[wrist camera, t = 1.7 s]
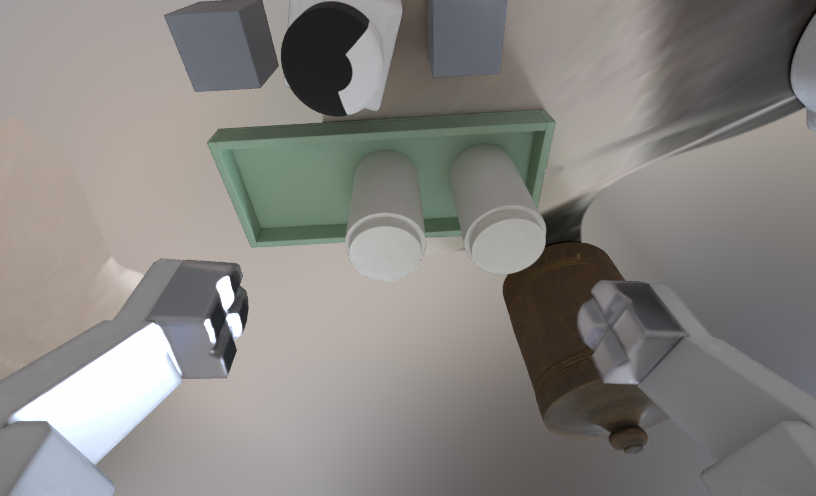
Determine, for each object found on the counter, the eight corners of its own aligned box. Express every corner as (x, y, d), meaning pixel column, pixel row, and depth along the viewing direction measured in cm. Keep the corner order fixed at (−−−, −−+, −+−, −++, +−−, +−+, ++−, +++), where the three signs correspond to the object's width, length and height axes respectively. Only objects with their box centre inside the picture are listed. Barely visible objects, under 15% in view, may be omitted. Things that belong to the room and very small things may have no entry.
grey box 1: (261, -2, 29) (238, 10, 25) (279, 66, 33) (260, 88, 28) (198, 1, 29) (163, 14, 25) (222, 69, 33) (194, 92, 28)
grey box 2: (490, -16, 29) (508, -6, 25) (484, 53, 33) (499, 74, 28) (426, -13, 29) (433, -2, 25) (427, 57, 33) (433, 78, 28)
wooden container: (536, 328, 58) (595, 488, 42) (481, 282, 51) (525, 453, 34) (629, 281, 52) (742, 447, 35) (581, 220, 45) (694, 393, 28)
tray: (545, 109, 36) (556, 121, 33) (524, 215, 44) (532, 231, 42) (218, 128, 36) (206, 142, 34) (258, 231, 44) (251, 248, 42)
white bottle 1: (417, 147, 37) (426, 219, 28) (419, 204, 42) (427, 282, 32) (350, 151, 37) (336, 224, 28) (359, 207, 42) (350, 287, 33)
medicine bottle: (300, 61, 32) (265, 112, 23) (310, -38, 28) (271, -23, 19) (380, 84, 34) (376, 141, 25) (401, -7, 29) (406, 21, 20)
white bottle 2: (517, 141, 37) (559, 211, 28) (508, 199, 42) (542, 275, 32) (449, 145, 37) (469, 217, 28) (448, 202, 42) (464, 280, 32)
